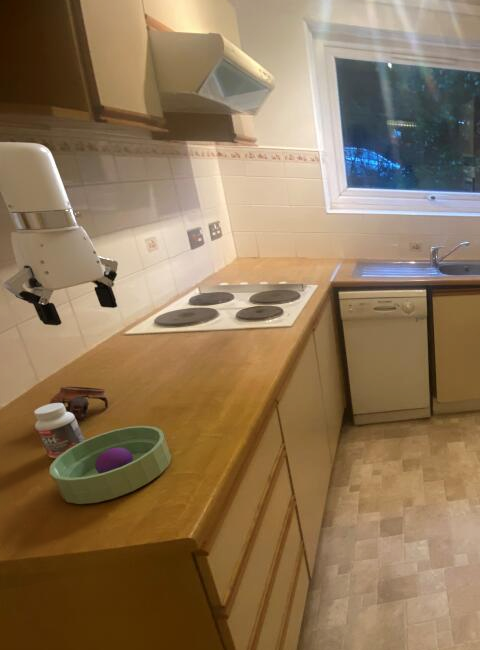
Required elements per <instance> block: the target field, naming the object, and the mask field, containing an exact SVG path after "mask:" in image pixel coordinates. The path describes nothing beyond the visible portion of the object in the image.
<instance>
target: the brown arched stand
mask: <svg viewBox="0 0 480 650" xmlns="http://www.w3.org/2000/svg"><path fill="white" fill-rule="evenodd" d="M88 399H92V400H93V399H95V400H101V401H102V402H104V408H105V409H108V408H109V400H108V398H107V396H106V395H105V389H103V388H98V387H97V388H96V387H83V386H61V387H60V390H59V392H58V393H57V394H55V395H54V396H53V397H52V398H50V401H49V404H52V403H62V404H64V406H65V409H66V412H70V413H72V414H73V415H74V416H75V418H76V421H77V423H79V422H81V421H84V420H86V419H87V416H88V415H87V411H88V409H89V405H90V403H89V400H88ZM65 404H67V406H66V405H65Z"/></svg>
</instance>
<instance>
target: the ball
mask: <svg viewBox="0 0 480 650" xmlns="http://www.w3.org/2000/svg"><path fill="white" fill-rule="evenodd" d="M130 462H133V457H132V454H131V453H130V452H129V451H128V450H126V449H123V448H112V449H109V450H106V451H104V452H103V453H101V454H100V455H99V456H98V458H97V460H96V462H95V468H96V470H97V472H98V473H99V474H101V473H105V472H108V471H111V470H114V469H117V468H119V467H122V466H124V465H126V464H128V463H130Z"/></svg>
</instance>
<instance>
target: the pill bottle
mask: <svg viewBox="0 0 480 650" xmlns="http://www.w3.org/2000/svg"><path fill="white" fill-rule="evenodd" d="M64 404H65V403H64ZM64 404H62V403H52V404H50V403H48V404H44V405H42V406H40V407H38V408H36V409H35V410H34V412H33V413H34V416H35V418H36V420H37V421H36V422H35V424H34V429H35V430H36V432H37V435H38V437H39V439H40V441H41V443H42V445H43V447H44V449H45V451H46V453H47V455H48V457H50V459H51V458H52V459H56V458H57V457H58V456H60V455H61V454H62V453H64V452H65V451H66V450H68V449H70V448H71V447H73V446H75V445H77V444H79V443H80V442H82V441H85V440H86V439H85V437H84V435H83V431H82V430H81V427H80V425H79V422H77V421H76V418H75V416H74V415H73V414H72V413H70V412H66V409H65V407H66V405H65V406H64Z"/></svg>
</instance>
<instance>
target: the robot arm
mask: <svg viewBox="0 0 480 650" xmlns="http://www.w3.org/2000/svg"><path fill="white" fill-rule="evenodd" d="M0 194H1V197H2V199H3V202H4V203H5V205H6V208H7V210H8V214H9V215H10V217H11V220H12V222H13V226H14V227H15V229H16V231H12V232H10V236H11V237H10V238H11V246H12V250H13V251H12V252H13V255H14V259H15V262H16V265H17V268H18V271H17V273H15V274H14V275H13V276H11V277H10V278H8V279H7V280H5V281H4V283H3V284H2V286H3V288H5V289H6V290H7V291H8V292H9V293H11V294H13V295H14V296H15V297H16V298H18V299H20V300H21V301H25V302H27V303H28V304H30V305H31V304H32V305H33V307H34V309H35V312H36V314H37V316H38V319H39V321H41V322H42V324H44V325H48V326H60V325H61V324H62V320H61V317H60V315H59V313H58V310H57V307H56V305H55V304H54V303H53V302H49V301H50V300H51V297H52V295H53V293H54V291H58V290H64V289H69V288H72V287H76V286H79V285H84V284H88V283H92V284H93V285H95V286H94V293H95V294H96V297H97V300H98V303H99V305H100V307H101V308H110V309H115V308H117V307H118V304H117V300H116V296H115V294H114V291H113V287H114V286H115V282H114V281H115V279H116V278H117V276H118V273H117V271H118V265H119V263H118V261H117V260H114V259H109V258H105V257H102V256H99V254H98V252H97V250H96V248H95V246H94V244H93V242H92V240H91V238H90V237H89V235H88V233H87V232H86V230H85V229H84V227H83V226H82V225H79V224H78V221H77V219H81V217H82V214H81V213H80V212H79V211H78V210H74V209H73V208H72V206H71V202H70V200H69V196H68V194H67V192H66V189H65V186H64V183H63V181H62V177H61V175H60V172H59V170H58V167H57V164H56V162H55V158H54V156H53V154H52V152H51V150H50V149H49V148H48V147H47V146H45V145H43V144H40V143H36V142H22V141H21V142H20V141H16V142H14V141H0ZM104 268H105V269H104ZM104 270H105V271H104ZM23 285H24V286H25V287H26V288H27V289H30V291H28V290H26V288H24V286H23Z"/></svg>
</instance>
